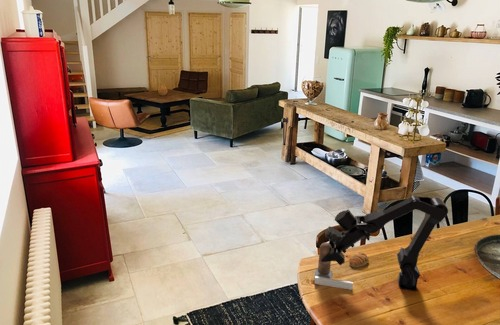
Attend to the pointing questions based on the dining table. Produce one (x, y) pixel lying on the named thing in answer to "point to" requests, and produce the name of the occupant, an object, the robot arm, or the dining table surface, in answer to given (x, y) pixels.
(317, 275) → the resting pad
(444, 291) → the dining table surface
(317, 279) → the silver flat bar
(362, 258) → the pastry
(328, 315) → the dining table surface
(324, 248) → the skittle
